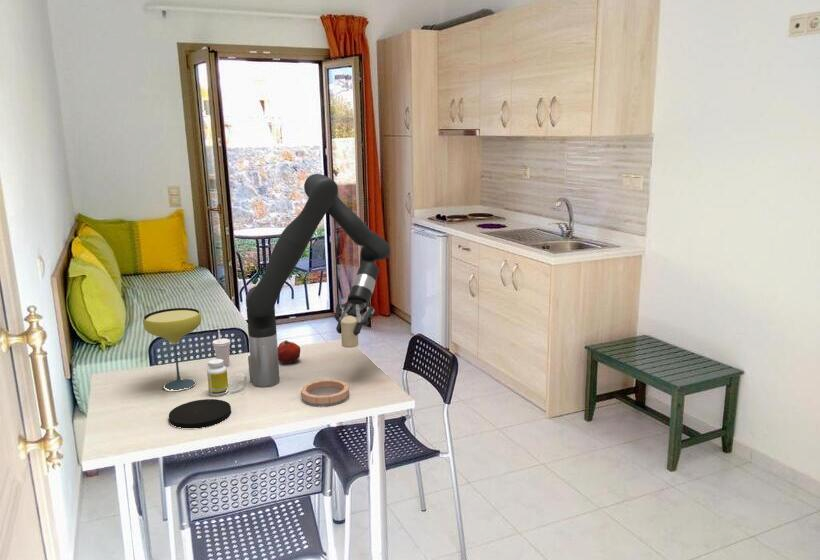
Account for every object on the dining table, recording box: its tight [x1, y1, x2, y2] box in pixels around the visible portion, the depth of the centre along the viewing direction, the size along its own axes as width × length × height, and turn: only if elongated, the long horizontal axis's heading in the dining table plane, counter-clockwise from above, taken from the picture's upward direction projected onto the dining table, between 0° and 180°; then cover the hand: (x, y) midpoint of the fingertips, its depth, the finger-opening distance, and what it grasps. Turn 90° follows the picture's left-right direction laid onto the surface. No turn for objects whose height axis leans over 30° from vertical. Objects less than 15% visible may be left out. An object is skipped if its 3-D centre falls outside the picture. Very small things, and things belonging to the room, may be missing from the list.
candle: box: [340, 316, 359, 349], centre depth 213 cm, size 6×6×10 cm
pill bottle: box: [206, 358, 229, 397], centre depth 209 cm, size 6×6×11 cm
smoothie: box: [212, 329, 232, 368], centre depth 234 cm, size 6×6×14 cm
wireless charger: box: [168, 398, 232, 429], centre depth 193 cm, size 18×18×2 cm
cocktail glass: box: [142, 307, 202, 390], centre depth 215 cm, size 18×18×25 cm
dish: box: [300, 378, 350, 408], centre depth 205 cm, size 15×15×3 cm
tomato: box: [277, 340, 301, 364], centre depth 238 cm, size 9×9×8 cm
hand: (347, 333), depth 212 cm, fingers closed on candle, 5 cm apart
